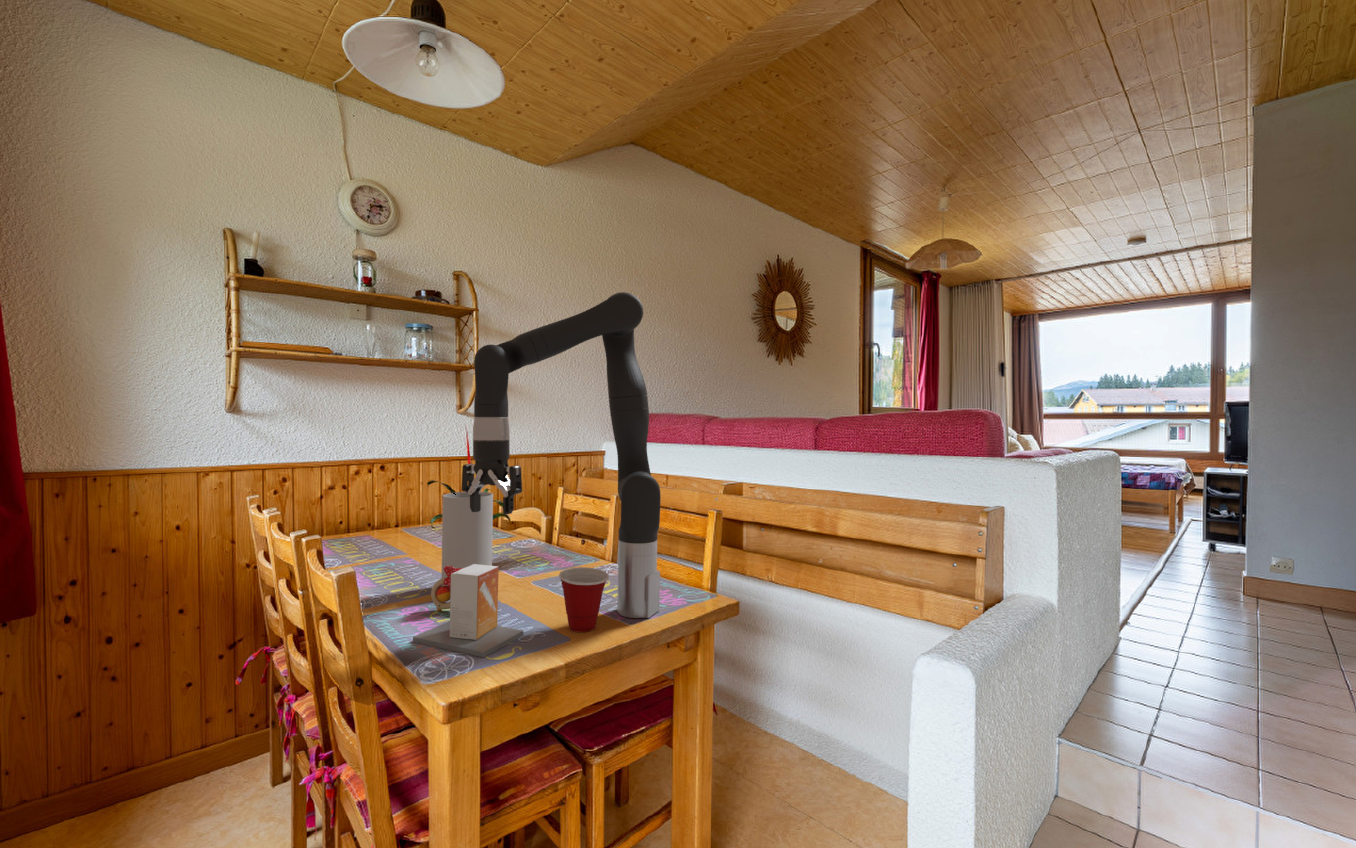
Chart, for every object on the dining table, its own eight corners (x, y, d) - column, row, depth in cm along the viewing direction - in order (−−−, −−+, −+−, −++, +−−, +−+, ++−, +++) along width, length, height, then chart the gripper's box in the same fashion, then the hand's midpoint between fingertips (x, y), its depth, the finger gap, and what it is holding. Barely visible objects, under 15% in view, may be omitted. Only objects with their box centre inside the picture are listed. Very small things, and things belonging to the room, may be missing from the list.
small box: (476, 641, 111) (477, 575, 111) (448, 637, 112) (449, 573, 112) (498, 626, 119) (499, 565, 118) (471, 623, 120) (472, 563, 120)
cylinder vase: (501, 585, 151) (503, 493, 151) (466, 598, 140) (468, 499, 139) (466, 579, 156) (468, 490, 156) (430, 591, 145) (432, 495, 145)
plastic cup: (587, 641, 114) (588, 583, 114) (547, 631, 119) (548, 575, 119) (618, 625, 123) (619, 571, 123) (579, 615, 129) (580, 564, 129)
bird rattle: (433, 624, 127) (469, 609, 127) (415, 579, 128) (451, 564, 127) (446, 615, 134) (480, 601, 133) (428, 572, 134) (463, 558, 134)
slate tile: (523, 635, 116) (523, 630, 116) (483, 657, 105) (483, 652, 105) (457, 622, 123) (457, 617, 123) (412, 641, 112) (412, 636, 112)
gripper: (529, 438, 121) (529, 512, 121) (477, 437, 127) (477, 508, 127) (507, 439, 114) (507, 517, 114) (452, 438, 120) (453, 513, 120)
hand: (491, 512), depth 121 cm, fingers open, 8 cm apart
